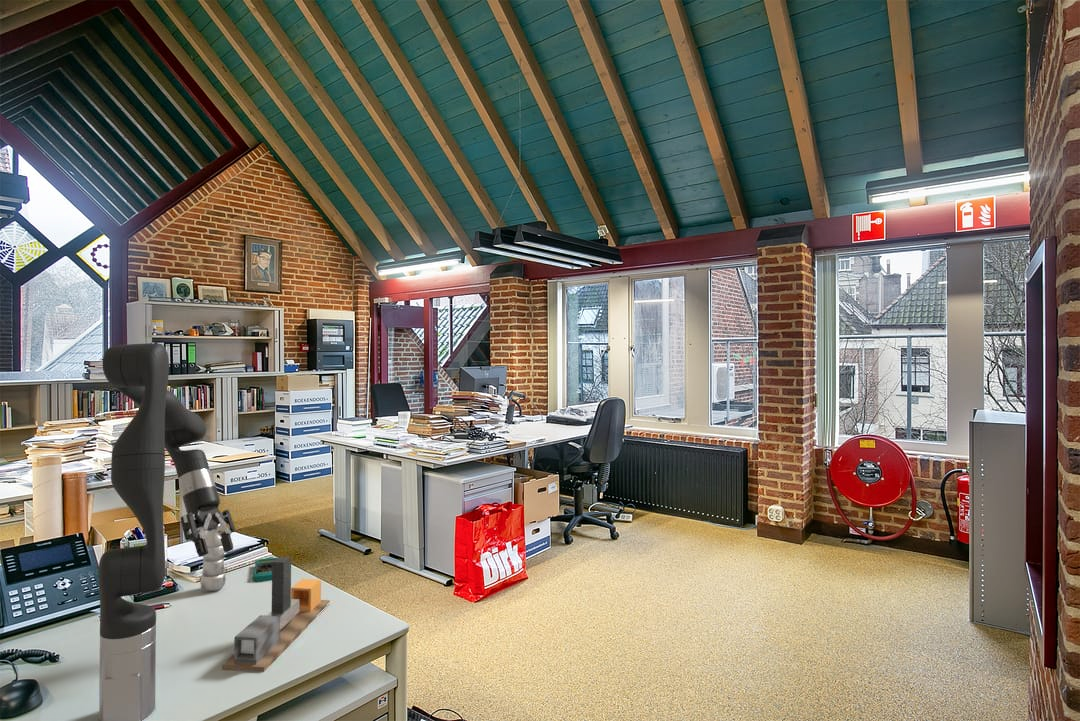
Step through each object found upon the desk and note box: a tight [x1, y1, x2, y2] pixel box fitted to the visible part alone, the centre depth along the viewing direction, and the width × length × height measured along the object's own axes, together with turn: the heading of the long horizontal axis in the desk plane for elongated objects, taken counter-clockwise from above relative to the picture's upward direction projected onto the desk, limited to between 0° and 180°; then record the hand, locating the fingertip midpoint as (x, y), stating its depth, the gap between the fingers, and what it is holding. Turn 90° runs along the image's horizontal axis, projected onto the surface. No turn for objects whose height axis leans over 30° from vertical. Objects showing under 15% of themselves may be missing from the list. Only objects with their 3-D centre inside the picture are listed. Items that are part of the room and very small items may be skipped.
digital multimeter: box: [252, 557, 278, 583], centre depth 193 cm, size 7×15×3 cm, turn 23°
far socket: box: [291, 578, 322, 612], centre depth 167 cm, size 6×6×6 cm
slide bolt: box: [241, 556, 299, 654], centre depth 148 cm, size 22×3×16 cm, turn 176°
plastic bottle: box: [199, 524, 227, 592], centre depth 179 cm, size 6×7×20 cm
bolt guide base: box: [220, 599, 331, 673], centre depth 153 cm, size 36×10×7 cm, turn 176°
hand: (217, 553), depth 145 cm, fingers open, 8 cm apart
